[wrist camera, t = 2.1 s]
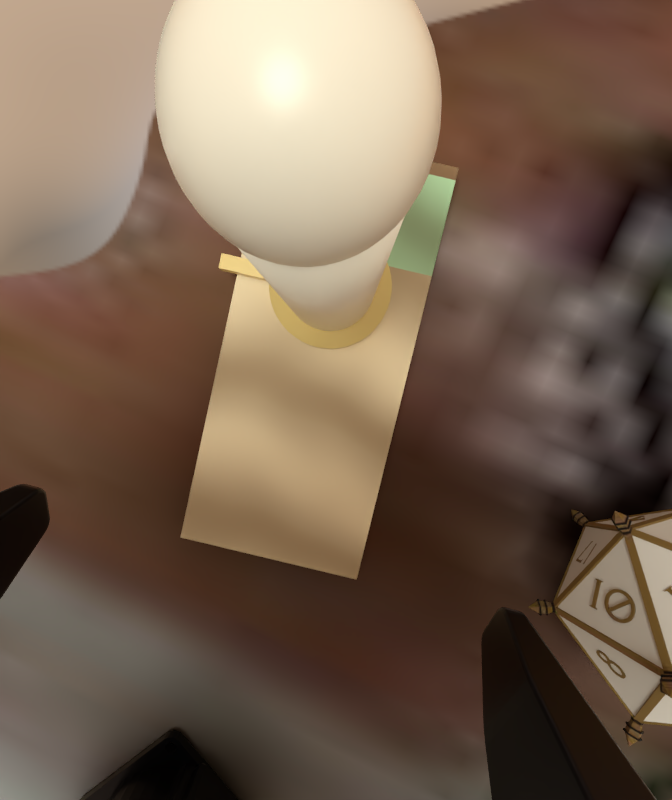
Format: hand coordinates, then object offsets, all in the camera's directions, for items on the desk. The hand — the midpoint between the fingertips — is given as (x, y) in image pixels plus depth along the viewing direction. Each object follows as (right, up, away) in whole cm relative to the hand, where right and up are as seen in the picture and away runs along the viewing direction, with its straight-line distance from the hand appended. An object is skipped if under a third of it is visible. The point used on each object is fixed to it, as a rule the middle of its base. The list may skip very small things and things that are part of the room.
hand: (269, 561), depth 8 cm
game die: (+14, -4, +12) cm, 19 cm away
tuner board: (0, +5, +11) cm, 12 cm away
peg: (0, +8, +10) cm, 13 cm away
